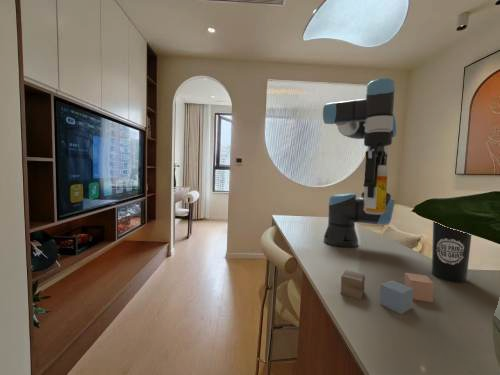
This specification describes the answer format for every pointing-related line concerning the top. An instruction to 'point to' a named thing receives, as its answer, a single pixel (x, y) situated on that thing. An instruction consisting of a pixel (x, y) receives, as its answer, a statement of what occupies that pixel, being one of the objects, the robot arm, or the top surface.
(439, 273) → the water bottle
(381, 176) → the beer can
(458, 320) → the top surface
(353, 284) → the walnut cube
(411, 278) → the terracotta cube
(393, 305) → the slate blue cube
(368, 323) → the top surface
